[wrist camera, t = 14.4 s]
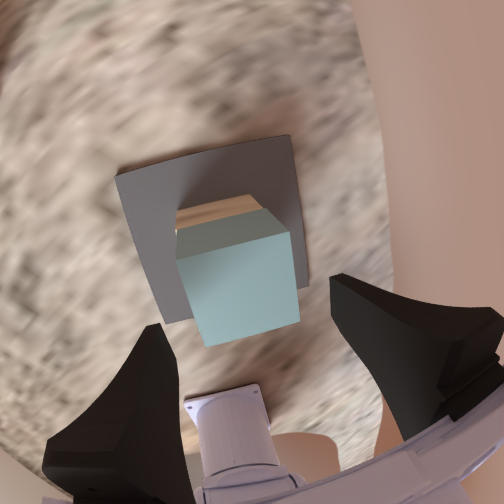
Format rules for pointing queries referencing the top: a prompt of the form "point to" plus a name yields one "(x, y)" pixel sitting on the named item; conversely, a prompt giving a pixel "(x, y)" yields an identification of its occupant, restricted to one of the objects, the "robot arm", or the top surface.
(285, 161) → the charcoal mat
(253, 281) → the teal brick
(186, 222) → the birch brick
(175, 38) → the top surface
